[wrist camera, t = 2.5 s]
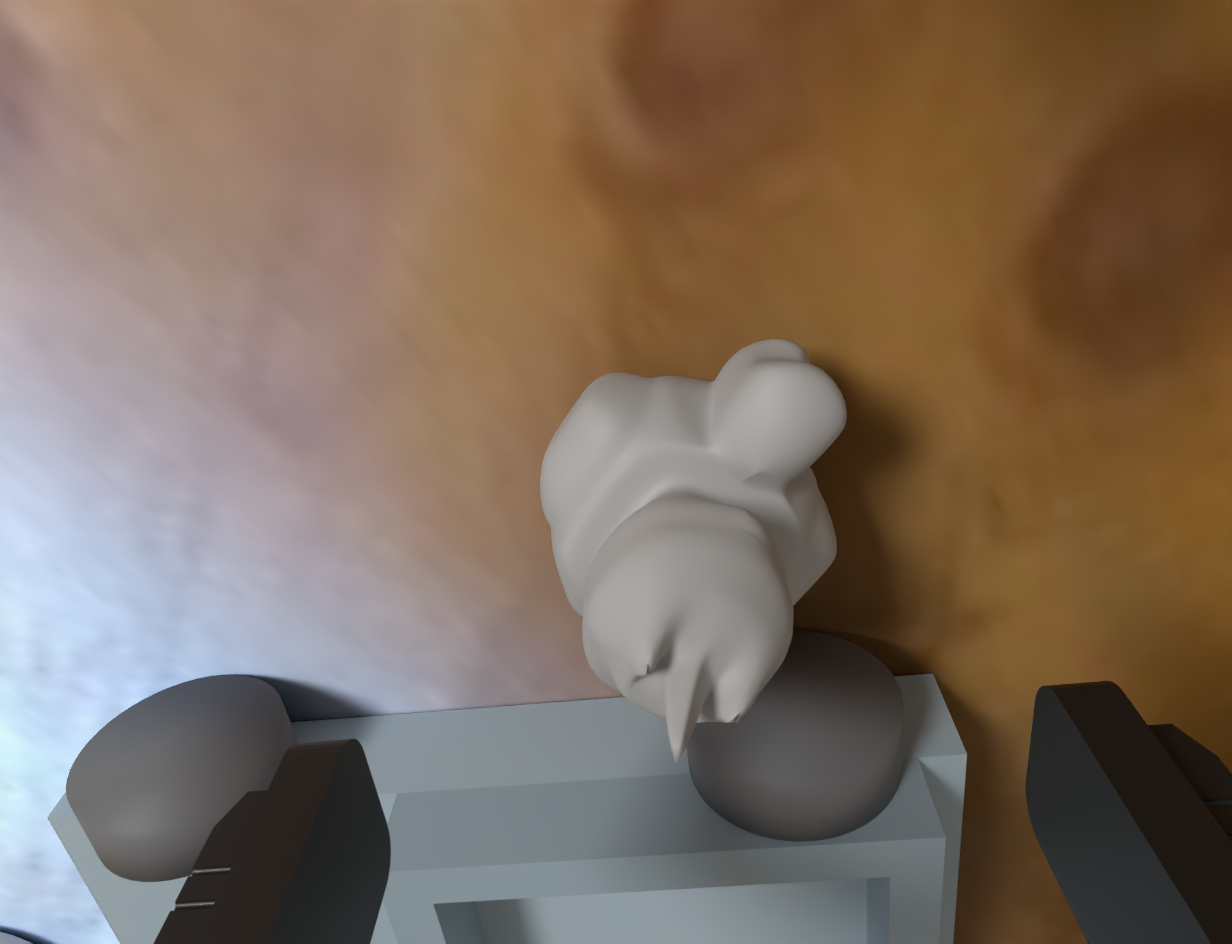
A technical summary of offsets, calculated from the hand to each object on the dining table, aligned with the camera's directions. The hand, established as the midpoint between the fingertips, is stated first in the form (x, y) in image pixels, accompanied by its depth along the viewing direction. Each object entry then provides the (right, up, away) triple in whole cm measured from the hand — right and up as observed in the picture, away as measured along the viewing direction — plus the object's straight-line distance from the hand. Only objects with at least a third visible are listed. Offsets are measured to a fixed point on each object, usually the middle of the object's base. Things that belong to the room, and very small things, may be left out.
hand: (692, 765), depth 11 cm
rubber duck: (+1, +4, +8) cm, 9 cm away
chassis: (-3, -7, +14) cm, 16 cm away
